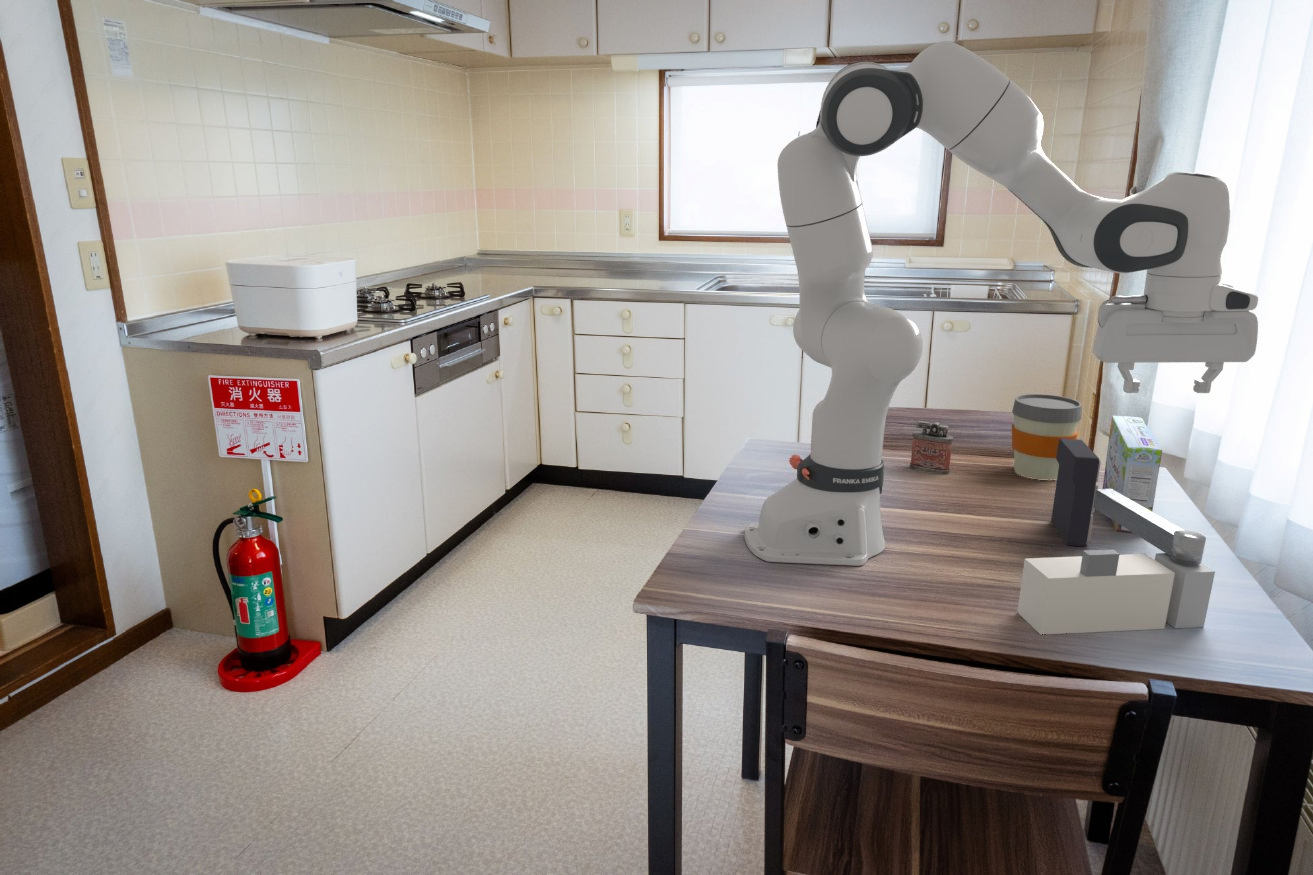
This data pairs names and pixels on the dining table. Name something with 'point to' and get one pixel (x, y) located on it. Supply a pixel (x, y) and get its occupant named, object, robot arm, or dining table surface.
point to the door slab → (1095, 593)
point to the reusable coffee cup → (1042, 432)
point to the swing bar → (1151, 527)
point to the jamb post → (1187, 592)
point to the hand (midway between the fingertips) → (1165, 392)
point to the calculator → (1075, 491)
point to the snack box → (1132, 462)
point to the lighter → (931, 448)
